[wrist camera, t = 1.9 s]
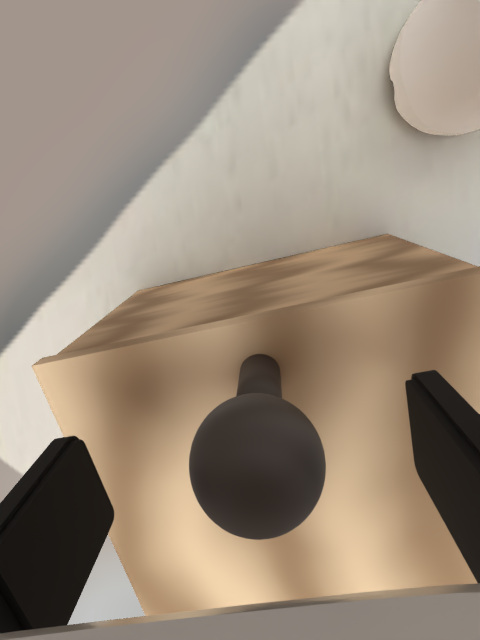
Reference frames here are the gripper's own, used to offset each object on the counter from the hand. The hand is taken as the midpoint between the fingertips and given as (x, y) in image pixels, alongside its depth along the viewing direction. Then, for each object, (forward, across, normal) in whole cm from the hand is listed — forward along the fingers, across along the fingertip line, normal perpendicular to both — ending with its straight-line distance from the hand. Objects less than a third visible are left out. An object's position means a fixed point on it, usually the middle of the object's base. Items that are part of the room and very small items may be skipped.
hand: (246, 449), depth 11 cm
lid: (+5, 0, +5) cm, 8 cm away
